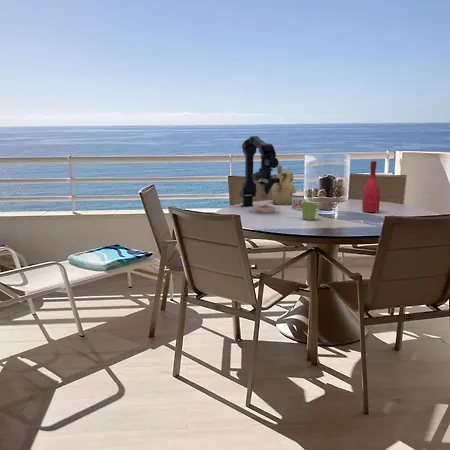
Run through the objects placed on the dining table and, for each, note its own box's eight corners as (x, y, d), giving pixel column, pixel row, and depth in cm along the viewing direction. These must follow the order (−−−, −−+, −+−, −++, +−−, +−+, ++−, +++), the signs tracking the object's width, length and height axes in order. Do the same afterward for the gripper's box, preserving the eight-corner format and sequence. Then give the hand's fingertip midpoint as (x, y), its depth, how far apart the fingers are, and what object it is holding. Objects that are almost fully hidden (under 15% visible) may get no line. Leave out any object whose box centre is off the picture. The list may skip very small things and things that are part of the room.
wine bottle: (360, 212, 295) (363, 161, 289) (362, 210, 304) (366, 160, 298) (378, 213, 291) (381, 161, 286) (379, 211, 300) (383, 160, 295)
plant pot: (299, 217, 277) (299, 201, 275) (316, 217, 277) (317, 202, 275) (300, 220, 268) (301, 204, 266) (318, 220, 268) (319, 204, 266)
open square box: (255, 211, 290) (255, 206, 289) (266, 210, 294) (266, 205, 293) (263, 213, 283) (263, 208, 282) (274, 212, 287) (275, 207, 287)
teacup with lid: (289, 210, 302) (290, 190, 300) (292, 207, 310) (293, 188, 308) (309, 211, 298) (310, 191, 296) (312, 209, 306) (313, 189, 304)
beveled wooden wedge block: (261, 198, 287) (261, 184, 285) (266, 197, 289) (267, 183, 287) (263, 198, 285) (263, 184, 283) (268, 198, 287) (269, 184, 286)
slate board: (247, 212, 291) (247, 211, 291) (267, 210, 298) (267, 209, 298) (260, 215, 281) (260, 214, 281) (280, 213, 288) (280, 212, 288)
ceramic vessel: (300, 203, 331) (302, 164, 326) (288, 206, 314) (289, 166, 309) (277, 200, 339) (278, 163, 334) (264, 204, 323) (264, 165, 318)
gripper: (244, 166, 287) (244, 193, 290) (264, 168, 272) (263, 197, 275) (260, 165, 293) (260, 192, 296) (280, 167, 277) (279, 195, 280)
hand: (265, 194), depth 287 cm, fingers closed on beveled wooden wedge block, 2 cm apart
